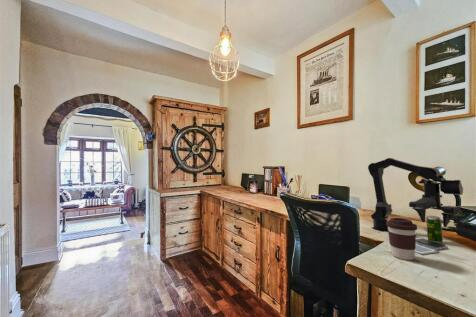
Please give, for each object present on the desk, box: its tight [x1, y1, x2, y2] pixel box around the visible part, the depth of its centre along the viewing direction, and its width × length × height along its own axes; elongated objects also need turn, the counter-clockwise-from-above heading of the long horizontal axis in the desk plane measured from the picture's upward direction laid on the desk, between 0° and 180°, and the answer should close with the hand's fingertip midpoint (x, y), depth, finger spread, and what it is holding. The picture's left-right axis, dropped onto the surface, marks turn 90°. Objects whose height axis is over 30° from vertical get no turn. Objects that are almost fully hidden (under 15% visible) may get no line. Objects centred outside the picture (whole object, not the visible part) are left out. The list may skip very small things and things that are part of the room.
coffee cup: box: [386, 217, 418, 261], centre depth 83 cm, size 10×10×15 cm
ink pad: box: [416, 238, 449, 251], centre depth 94 cm, size 10×8×2 cm
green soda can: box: [425, 215, 444, 244], centre depth 100 cm, size 5×5×12 cm
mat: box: [415, 244, 440, 256], centre depth 90 cm, size 10×10×1 cm
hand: (433, 224), depth 100 cm, fingers open, 9 cm apart
